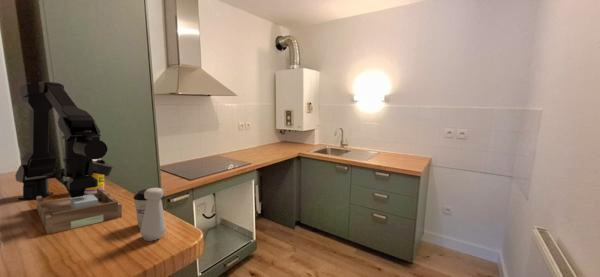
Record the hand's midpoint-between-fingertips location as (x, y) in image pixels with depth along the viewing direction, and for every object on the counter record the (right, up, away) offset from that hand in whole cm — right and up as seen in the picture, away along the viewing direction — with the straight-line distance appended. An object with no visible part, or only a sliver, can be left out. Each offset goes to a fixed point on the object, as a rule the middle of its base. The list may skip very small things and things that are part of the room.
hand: (77, 204), depth 76 cm
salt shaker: (+31, -6, -12) cm, 34 cm away
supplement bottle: (-12, -1, +20) cm, 23 cm away
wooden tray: (0, -3, 0) cm, 3 cm away
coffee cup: (+25, -5, -5) cm, 26 cm away
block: (+7, -1, -5) cm, 8 cm away
